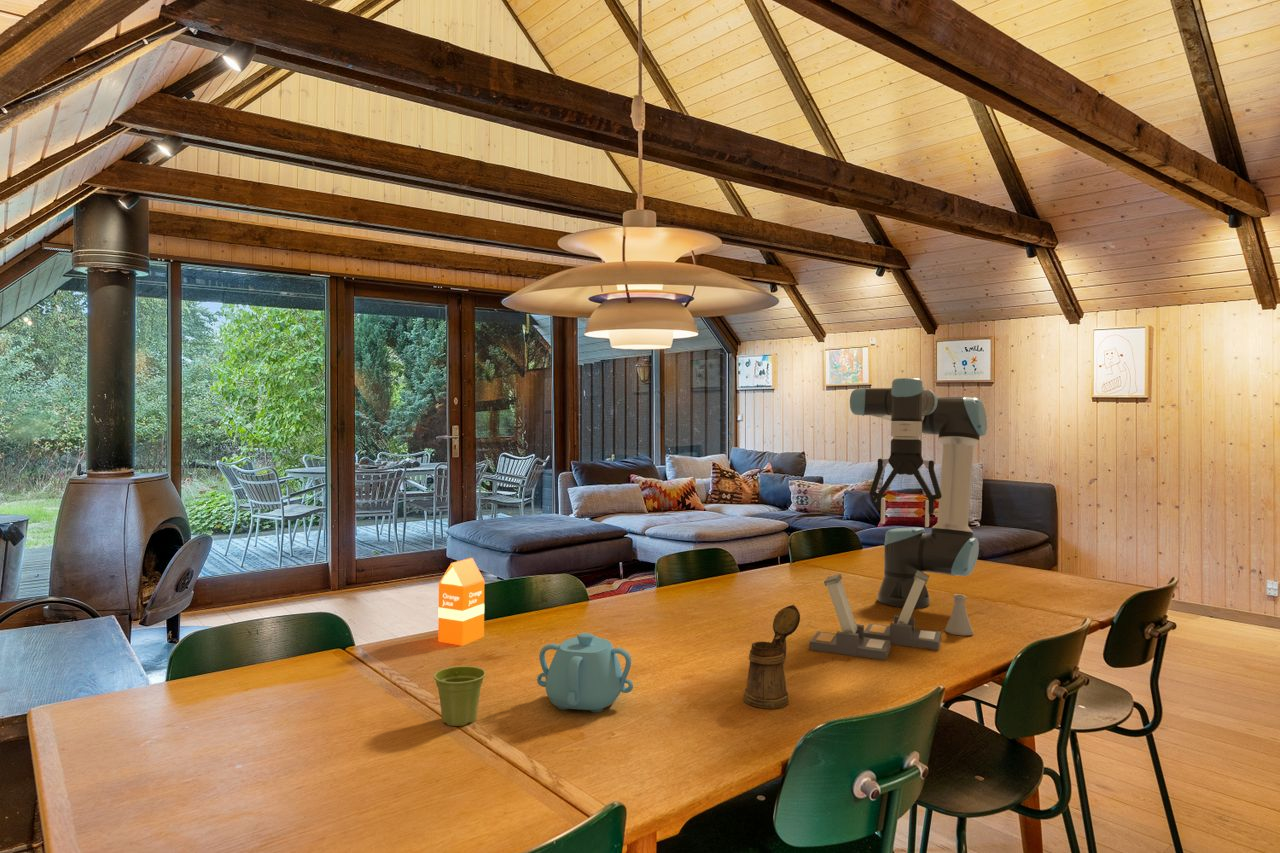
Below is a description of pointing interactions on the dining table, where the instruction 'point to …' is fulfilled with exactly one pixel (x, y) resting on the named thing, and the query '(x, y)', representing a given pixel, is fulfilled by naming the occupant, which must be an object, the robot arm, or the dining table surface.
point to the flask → (959, 618)
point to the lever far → (913, 597)
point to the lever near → (841, 603)
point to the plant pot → (459, 693)
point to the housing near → (851, 644)
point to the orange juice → (461, 604)
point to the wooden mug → (771, 664)
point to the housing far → (904, 634)
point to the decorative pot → (584, 673)
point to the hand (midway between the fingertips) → (904, 524)
